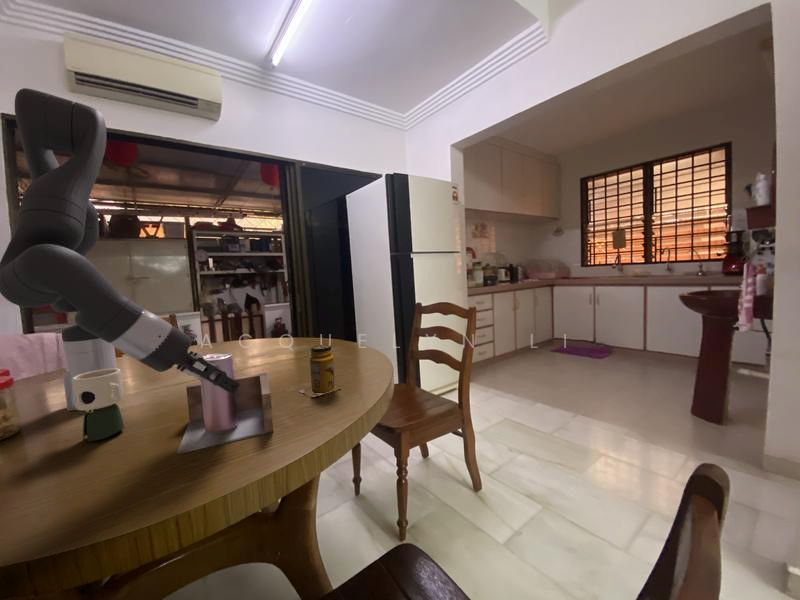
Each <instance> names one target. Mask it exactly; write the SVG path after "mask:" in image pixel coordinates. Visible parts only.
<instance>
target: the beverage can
mask: <svg viewBox="0 0 800 600" xmlns="http://www.w3.org/2000/svg"><path fill="white" fill-rule="evenodd" d="M203 357H204V359H206V360H207V361H209V362H211V363H213V364H214V365H215V366H216V368H218V369H220V370H221V371H224V372H226V374H227V375H226V376H228V377H230V378H231V379H233V380H234V381H235V378H236V376H235V367H234V358H233V357H232V354H231V353H228V352H223V353H222V352H220V353H212V354H207V355H204V356H203ZM217 375H218V373H217V372H215V371H214V372H213V373H212V374H211V376H210V378H211V379H213V380H214V378H215V377H216V376H217ZM199 381H200V383H201V392H202V403H203V414H204V424H205V431H206V432H207V433H209V434H212V435H216V434H222V433H226V432H229V431H231V430H232V429H234V428H235V427H236V426H237V424H238V412H237V400H236V391H235V393H233V394H232V393H230V392H228V391H226V390H224V389H223V388H221V387H219V386H215V385H213V383H211V382H209V381H207V380H206V381H201V380H199Z"/></svg>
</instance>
